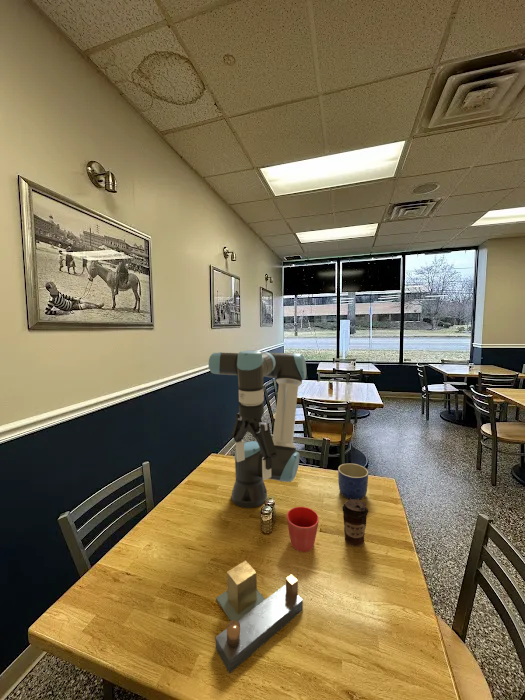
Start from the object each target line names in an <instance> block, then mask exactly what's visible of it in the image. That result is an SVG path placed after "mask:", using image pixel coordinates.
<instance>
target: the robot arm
mask: <svg viewBox="0 0 525 700" xmlns="http://www.w3.org/2000/svg"><path fill="white" fill-rule="evenodd" d="M306 363H307V362H306V358H305V356H304V354H302V353H295V352H291V353H290V352H268V351H267V352H266V351H265V352H264V351H263V352H261V351H260V350H254V349H253V350H242V351H239V352H213V353H212V354H211V355H210V356H209V358H208V369H209V372H210V373H211V374H213V375H219V376H220V375H222V376H223V375H227V376H237V380H238V381H237V383H238V402H239V404H238V413H236V414H235V421H234V425H233V427H232V428H233V429H232V432H231V435H230V436H231V438H232V439H233V440H234V442H235V451H234V452H235V453H234V466H235V467H234V468H235V472H234V474H235V481H234V485H233V488H232V491H231V501H232V503H233V504H234V505H236V506H237V507H240V508H247V509H248V508H249V509H252V508H257V507H259V506H261V505H263V504H264V503H265V502H266V501H265V499H266V498H267V499H268V490H267V487H266V485H265V482H264V481H267V480H274V481H279V482H285V483H291V482H293V481H294V479H295V478H296V476H297V473H298V470H299V464H300V453H299V452H298V451H297V447H296V445H295V444H294V433H295V422H296V414H297V402H298V394H299V393H298V392H299V387H300V386H301V385H302V384H303V380H306V379H307V364H306ZM264 377H266V378H272V379H276V380H275V382H276V383H277V384H278V391H277V399H276V407H275V416H274V423H273V424H274V426H273V433H271V430H270V429H271V428H270V423H269V422H268V421H267V422H263V421H262V417H263V416H264V413H265V404H264V400H265V393H264V391H265V390H264ZM247 433H250V435H252V437H253V438H254V439H255V440H253V441H252V440H251V441H246V442H245V441H244V440H245V436H246V434H247ZM267 499H266V500H267ZM264 501H265V502H264Z"/></svg>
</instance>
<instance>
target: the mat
mask: <svg viewBox="0 0 525 700" xmlns="http://www.w3.org/2000/svg"><path fill="white" fill-rule="evenodd" d="M215 599H216V601H217V603H218V604H219V606H220V608H221V609H222V610H223V612H224V613H225V616H227V618H228V620H229V622H230V621H233V620H235V621H237V620H239V619H240V618H241V617H243V616H244V615H245V614H247V613H248V612H249V611H251V610H252V609H253V608H255V607H256V606H257V605H259V604H260V603H261V602H263V601H264V600H265V599H266V598H265V597H264V596H263V595H262V594H261V592H260V591H259V590H258V589H257V601H255V602H254V603H253V604H251V605H250V606H249V607H247V608H246V609H245V610H243V611H242V612H241V613H239V614H237V613H236V611H235V610H234V608H233V607H232V606H231V604H230V603H229V601H228V599H227V590H225V591H224V592H223V593H221V594H219V595H217V596H216V597H215Z"/></svg>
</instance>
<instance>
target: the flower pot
mask: <svg viewBox="0 0 525 700" xmlns="http://www.w3.org/2000/svg"><path fill="white" fill-rule="evenodd" d="M319 519H320V518H319V515H318V513H317V512H316V511H315V510H313V509H312V508H309V507H306V506H296V507H292V508H291V509H289V510H288V512H287V513H286V521H287V528H288V535H289V540H290V545H291V547H292V548H293V549H294V550H295V551H298V552H300V553H307V552H310V551H311V550H313V549H314V546H315V543H316V542H315V541H316V537H317V533H318V526H319V523H320V522H319V521H320V520H319Z"/></svg>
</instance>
